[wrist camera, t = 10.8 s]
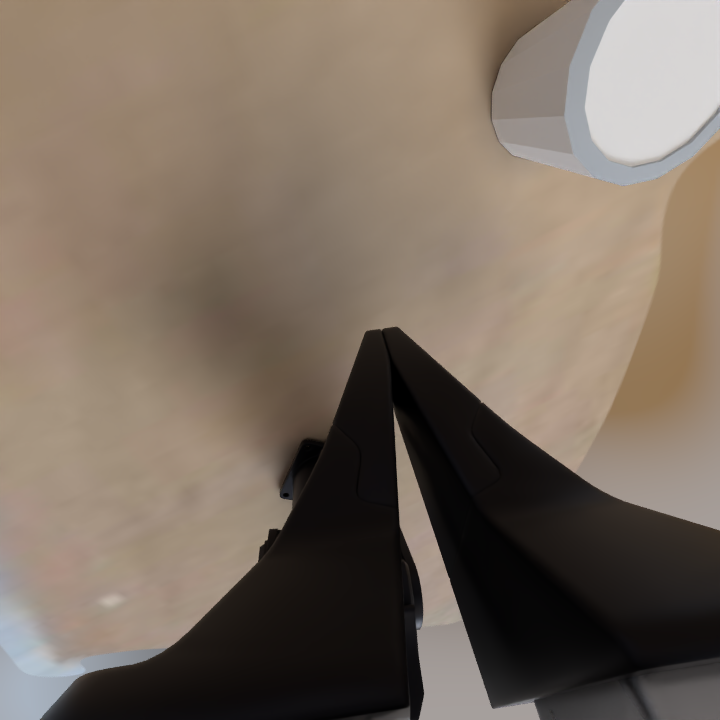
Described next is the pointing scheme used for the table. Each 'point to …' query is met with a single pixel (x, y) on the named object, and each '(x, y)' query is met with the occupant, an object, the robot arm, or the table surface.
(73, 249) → the table surface
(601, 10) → the shot glass
